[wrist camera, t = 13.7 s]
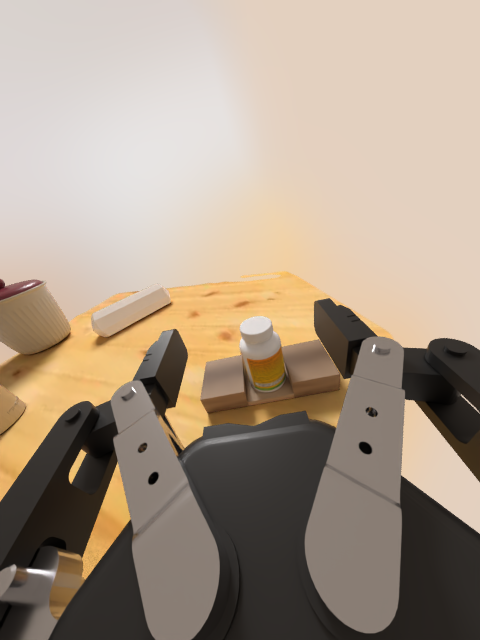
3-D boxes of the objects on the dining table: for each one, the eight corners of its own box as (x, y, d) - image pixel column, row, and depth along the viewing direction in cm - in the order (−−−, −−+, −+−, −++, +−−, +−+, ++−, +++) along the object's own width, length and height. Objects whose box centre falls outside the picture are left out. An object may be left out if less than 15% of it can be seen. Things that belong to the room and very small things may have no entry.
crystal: (160, 287, 70) (87, 322, 57) (163, 279, 64) (82, 317, 51) (172, 304, 71) (103, 343, 58) (177, 298, 65) (100, 340, 52)
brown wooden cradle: (339, 389, 26) (340, 374, 24) (207, 413, 28) (200, 399, 26) (319, 353, 32) (318, 339, 30) (211, 374, 34) (206, 362, 32)
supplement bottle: (294, 378, 28) (287, 321, 23) (265, 401, 26) (251, 345, 21) (269, 359, 32) (258, 308, 27) (242, 378, 30) (226, 326, 25)
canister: (54, 356, 53) (-18, 283, 42) (-6, 369, 54) (-89, 302, 43) (93, 320, 68) (48, 260, 57) (46, 331, 70) (-6, 275, 59)
